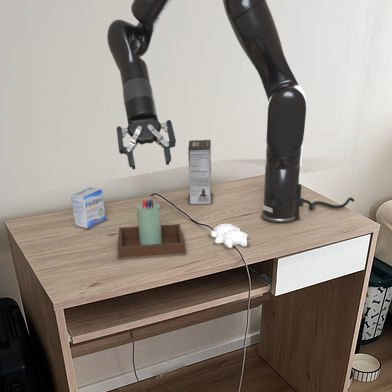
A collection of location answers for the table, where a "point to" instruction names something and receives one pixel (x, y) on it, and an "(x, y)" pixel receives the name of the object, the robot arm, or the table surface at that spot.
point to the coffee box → (200, 171)
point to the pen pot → (149, 223)
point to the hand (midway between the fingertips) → (151, 165)
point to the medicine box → (88, 207)
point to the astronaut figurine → (229, 235)
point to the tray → (170, 244)
